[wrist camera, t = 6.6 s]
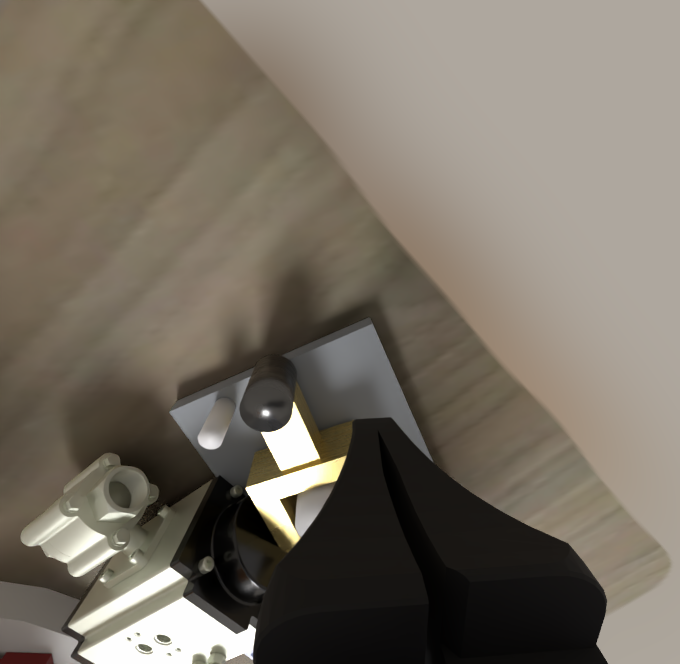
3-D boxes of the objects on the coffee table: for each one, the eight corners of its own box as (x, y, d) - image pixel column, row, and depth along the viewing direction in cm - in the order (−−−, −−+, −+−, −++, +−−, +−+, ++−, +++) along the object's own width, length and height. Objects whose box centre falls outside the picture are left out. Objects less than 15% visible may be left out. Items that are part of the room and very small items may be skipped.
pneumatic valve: (169, 397, 17) (332, 542, 20) (40, 501, 21) (196, 611, 24) (86, 490, 12) (321, 663, 15) (-65, 608, 16) (151, 728, 19)
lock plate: (453, 507, 22) (482, 575, 18) (293, 566, 23) (287, 643, 19) (369, 316, 17) (384, 352, 13) (176, 400, 18) (137, 456, 14)
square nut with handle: (320, 336, 16) (320, 366, 13) (384, 497, 20) (395, 547, 17) (213, 374, 17) (191, 410, 14) (294, 525, 20) (289, 579, 17)
